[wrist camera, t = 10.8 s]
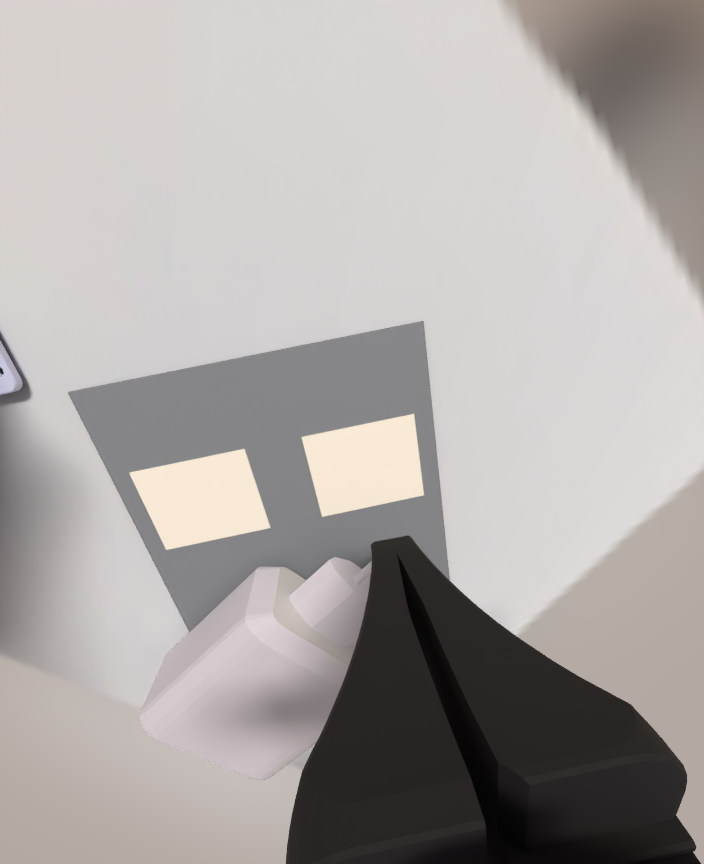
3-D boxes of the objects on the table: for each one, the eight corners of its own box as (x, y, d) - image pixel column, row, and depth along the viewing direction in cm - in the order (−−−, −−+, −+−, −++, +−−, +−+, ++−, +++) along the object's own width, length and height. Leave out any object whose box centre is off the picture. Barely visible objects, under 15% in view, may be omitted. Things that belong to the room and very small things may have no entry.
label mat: (69, 392, 15) (66, 392, 15) (422, 321, 16) (423, 321, 16) (201, 653, 22) (200, 655, 22) (451, 598, 22) (451, 600, 22)
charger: (435, 573, 21) (281, 699, 24) (331, 489, 18) (170, 643, 21) (466, 642, 17) (273, 787, 20) (335, 546, 14) (131, 731, 17)
